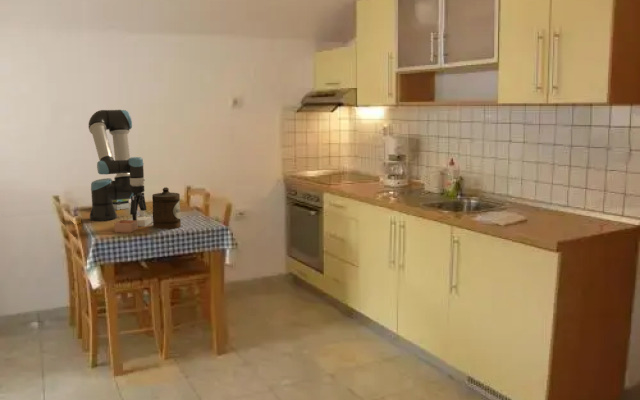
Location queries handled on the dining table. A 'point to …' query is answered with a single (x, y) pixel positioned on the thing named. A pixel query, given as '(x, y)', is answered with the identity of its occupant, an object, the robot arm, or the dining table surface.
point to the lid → (143, 220)
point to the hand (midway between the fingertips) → (139, 223)
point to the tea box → (121, 204)
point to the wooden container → (166, 210)
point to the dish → (126, 226)
